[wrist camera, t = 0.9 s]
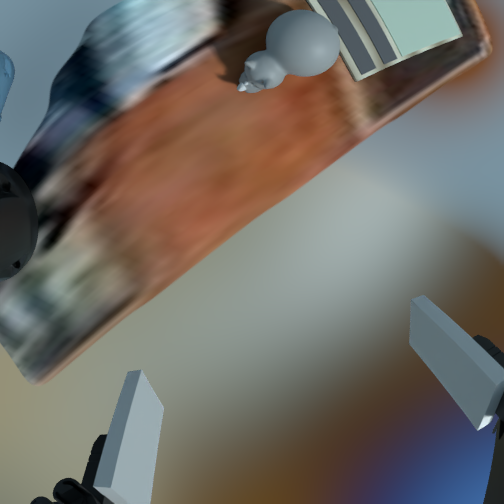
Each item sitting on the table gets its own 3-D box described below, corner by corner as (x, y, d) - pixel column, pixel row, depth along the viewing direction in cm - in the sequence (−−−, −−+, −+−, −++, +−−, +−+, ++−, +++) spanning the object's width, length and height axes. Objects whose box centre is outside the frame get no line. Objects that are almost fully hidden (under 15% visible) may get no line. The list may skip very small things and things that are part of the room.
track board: (355, 81, 32) (357, 81, 32) (301, -7, 27) (302, -9, 26) (460, 36, 31) (462, 36, 31) (422, -34, 26) (424, -35, 25)
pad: (401, 56, 31) (402, 56, 31) (357, -21, 26) (357, -21, 26) (460, 33, 31) (461, 33, 30) (424, -32, 26) (425, -32, 25)
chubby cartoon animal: (223, 61, 31) (204, 64, 24) (308, 5, 26) (313, -10, 19) (262, 107, 34) (253, 121, 27) (346, 53, 29) (362, 53, 22)
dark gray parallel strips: (361, 74, 32) (362, 74, 31) (311, -8, 27) (312, -8, 26) (396, 58, 31) (397, 58, 31) (351, -19, 26) (352, -20, 26)
